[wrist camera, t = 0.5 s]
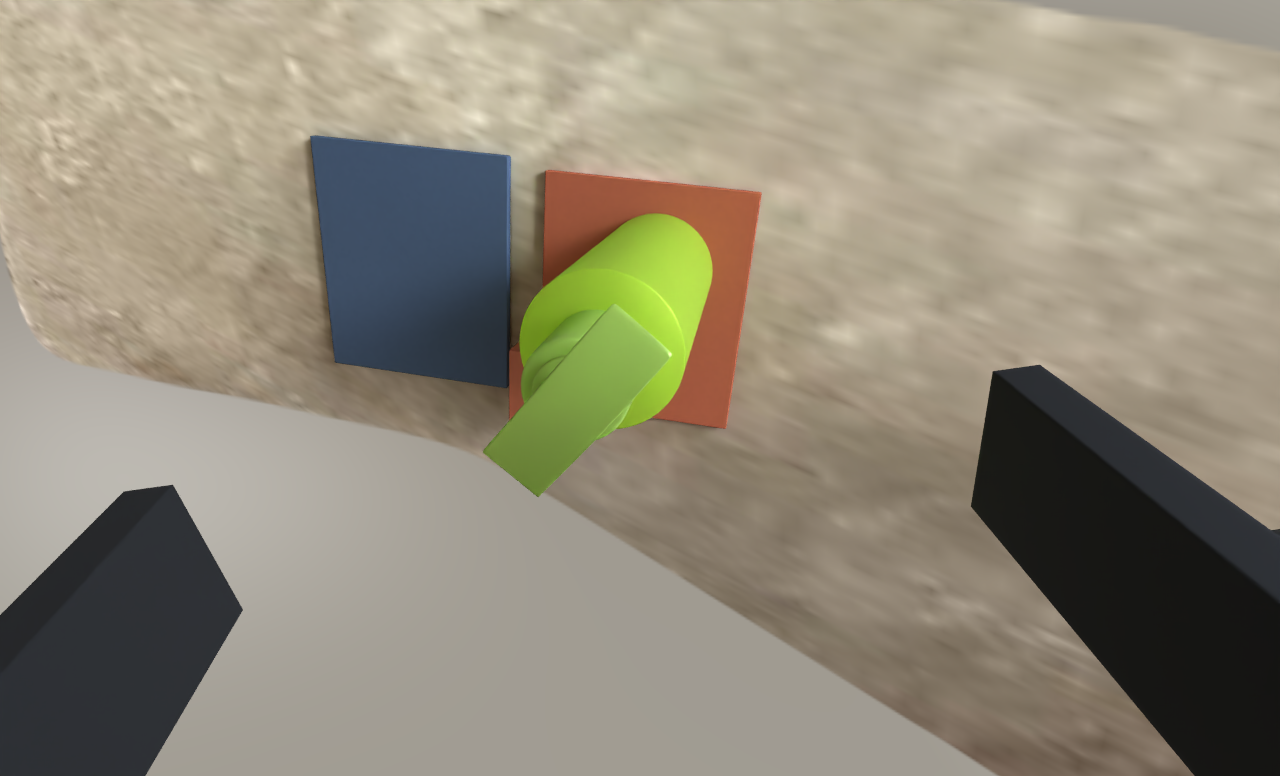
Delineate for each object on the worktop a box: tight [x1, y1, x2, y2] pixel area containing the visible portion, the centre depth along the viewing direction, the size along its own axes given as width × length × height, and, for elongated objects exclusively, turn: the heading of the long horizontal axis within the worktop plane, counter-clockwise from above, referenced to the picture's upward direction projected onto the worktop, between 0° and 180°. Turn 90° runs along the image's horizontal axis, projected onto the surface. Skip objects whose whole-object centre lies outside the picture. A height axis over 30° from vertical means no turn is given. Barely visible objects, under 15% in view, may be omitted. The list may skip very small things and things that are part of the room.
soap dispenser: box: [483, 213, 713, 497], centre depth 25 cm, size 6×7×20 cm
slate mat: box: [310, 136, 511, 388], centre depth 37 cm, size 13×11×1 cm
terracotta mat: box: [543, 170, 761, 429], centre depth 36 cm, size 13×11×1 cm
